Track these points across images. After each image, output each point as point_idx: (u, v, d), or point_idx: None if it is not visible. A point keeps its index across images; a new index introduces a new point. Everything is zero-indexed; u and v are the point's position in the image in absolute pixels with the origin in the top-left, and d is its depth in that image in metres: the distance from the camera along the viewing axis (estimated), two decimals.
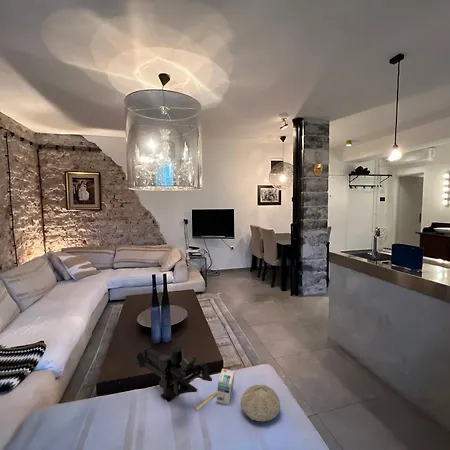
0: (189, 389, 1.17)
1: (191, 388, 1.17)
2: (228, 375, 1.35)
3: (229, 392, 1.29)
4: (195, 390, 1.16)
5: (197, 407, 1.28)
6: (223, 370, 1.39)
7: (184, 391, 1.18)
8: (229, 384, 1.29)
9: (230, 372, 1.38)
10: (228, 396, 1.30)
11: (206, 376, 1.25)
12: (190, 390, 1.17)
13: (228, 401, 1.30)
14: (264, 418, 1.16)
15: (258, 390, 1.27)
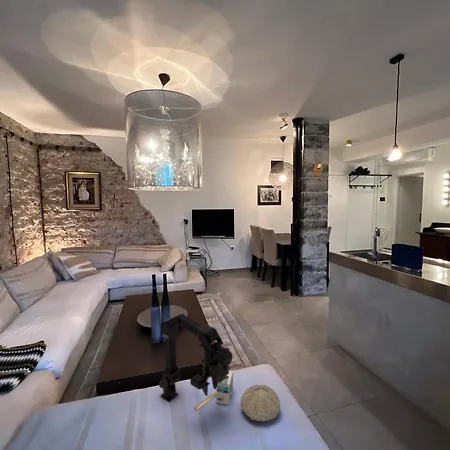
0: (203, 388, 1.17)
1: (205, 391, 1.17)
2: None
3: (228, 392, 1.29)
4: (205, 394, 1.18)
5: (197, 407, 1.28)
6: None
7: None
8: (227, 384, 1.29)
9: (229, 372, 1.38)
10: (227, 396, 1.30)
11: (215, 381, 1.22)
12: (203, 389, 1.17)
13: (228, 401, 1.30)
14: (264, 418, 1.16)
15: (258, 390, 1.27)
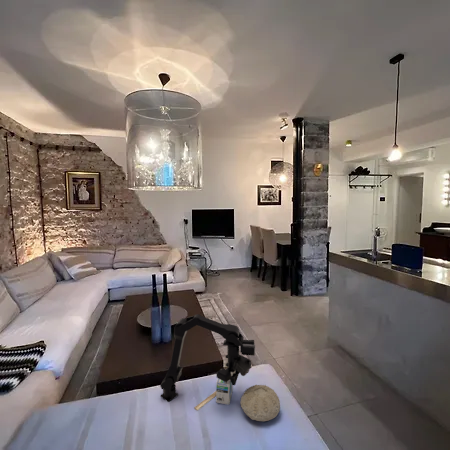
0: (231, 379, 1.30)
1: (232, 381, 1.30)
2: None
3: (228, 392, 1.29)
4: (233, 384, 1.30)
5: (197, 407, 1.28)
6: None
7: None
8: (227, 384, 1.29)
9: None
10: (227, 396, 1.30)
11: None
12: (231, 379, 1.30)
13: (228, 401, 1.30)
14: (264, 418, 1.16)
15: (258, 390, 1.27)
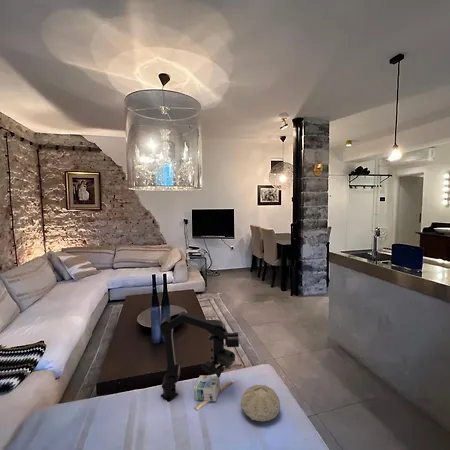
0: (216, 371, 1.36)
1: (217, 373, 1.36)
2: None
3: (202, 389, 1.32)
4: (218, 376, 1.37)
5: (197, 407, 1.28)
6: None
7: None
8: (194, 389, 1.33)
9: None
10: (206, 389, 1.32)
11: None
12: (215, 372, 1.37)
13: (211, 389, 1.31)
14: (264, 418, 1.16)
15: (258, 390, 1.27)
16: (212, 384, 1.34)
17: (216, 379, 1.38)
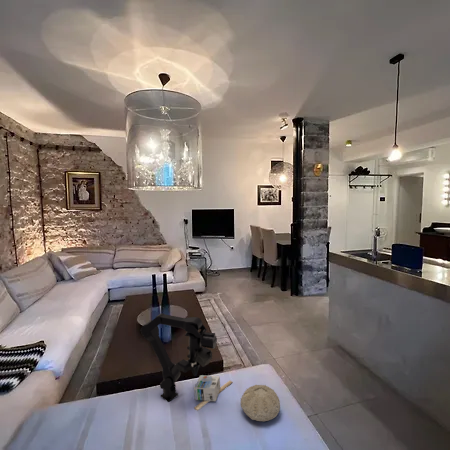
0: (192, 370, 1.31)
1: (194, 372, 1.31)
2: None
3: (202, 388, 1.32)
4: (194, 375, 1.32)
5: (197, 407, 1.28)
6: None
7: None
8: (194, 389, 1.33)
9: None
10: (206, 389, 1.32)
11: None
12: (192, 370, 1.32)
13: (211, 389, 1.31)
14: (264, 418, 1.16)
15: (258, 390, 1.27)
16: (212, 384, 1.34)
17: (216, 379, 1.38)
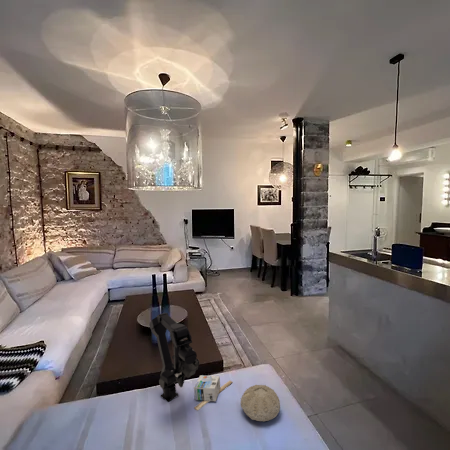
0: (178, 380, 1.25)
1: (179, 383, 1.24)
2: None
3: (202, 388, 1.32)
4: (180, 386, 1.25)
5: (197, 407, 1.28)
6: None
7: None
8: (194, 389, 1.33)
9: None
10: (206, 389, 1.32)
11: None
12: (177, 381, 1.25)
13: (211, 389, 1.31)
14: (264, 418, 1.16)
15: (258, 390, 1.27)
16: (212, 384, 1.34)
17: (216, 379, 1.38)
